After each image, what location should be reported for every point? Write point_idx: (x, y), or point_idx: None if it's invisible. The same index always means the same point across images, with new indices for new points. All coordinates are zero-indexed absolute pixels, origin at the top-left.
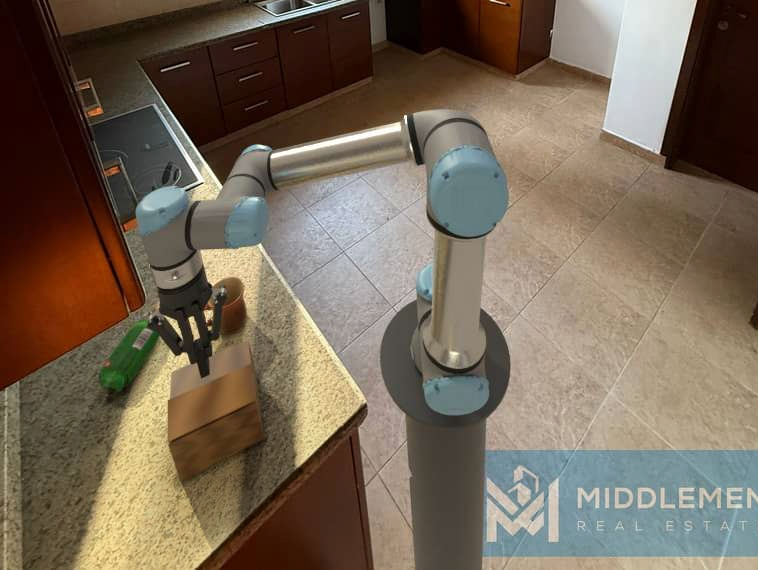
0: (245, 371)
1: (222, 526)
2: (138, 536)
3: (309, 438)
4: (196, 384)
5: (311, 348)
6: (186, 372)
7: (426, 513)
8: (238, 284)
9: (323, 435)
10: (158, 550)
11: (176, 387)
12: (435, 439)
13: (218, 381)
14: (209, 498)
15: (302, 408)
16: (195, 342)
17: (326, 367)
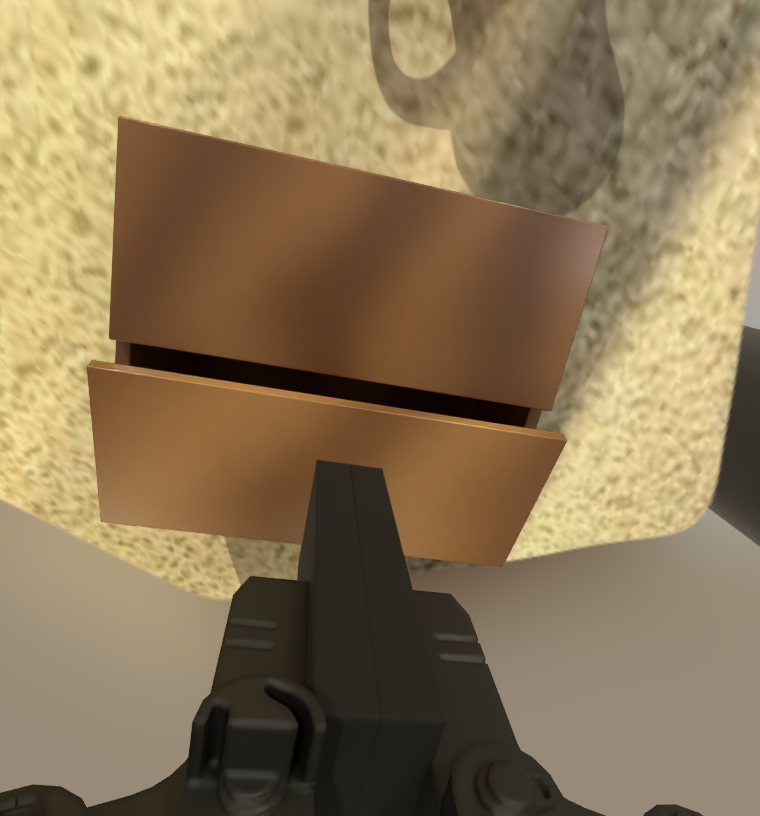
0: (526, 460)
1: (279, 574)
2: (55, 476)
3: (551, 523)
4: (265, 319)
5: (718, 259)
6: (216, 195)
7: None
8: None
9: (585, 538)
10: (114, 534)
11: (149, 261)
12: (722, 512)
13: (384, 430)
14: None
15: (577, 439)
16: (322, 753)
17: (711, 366)
